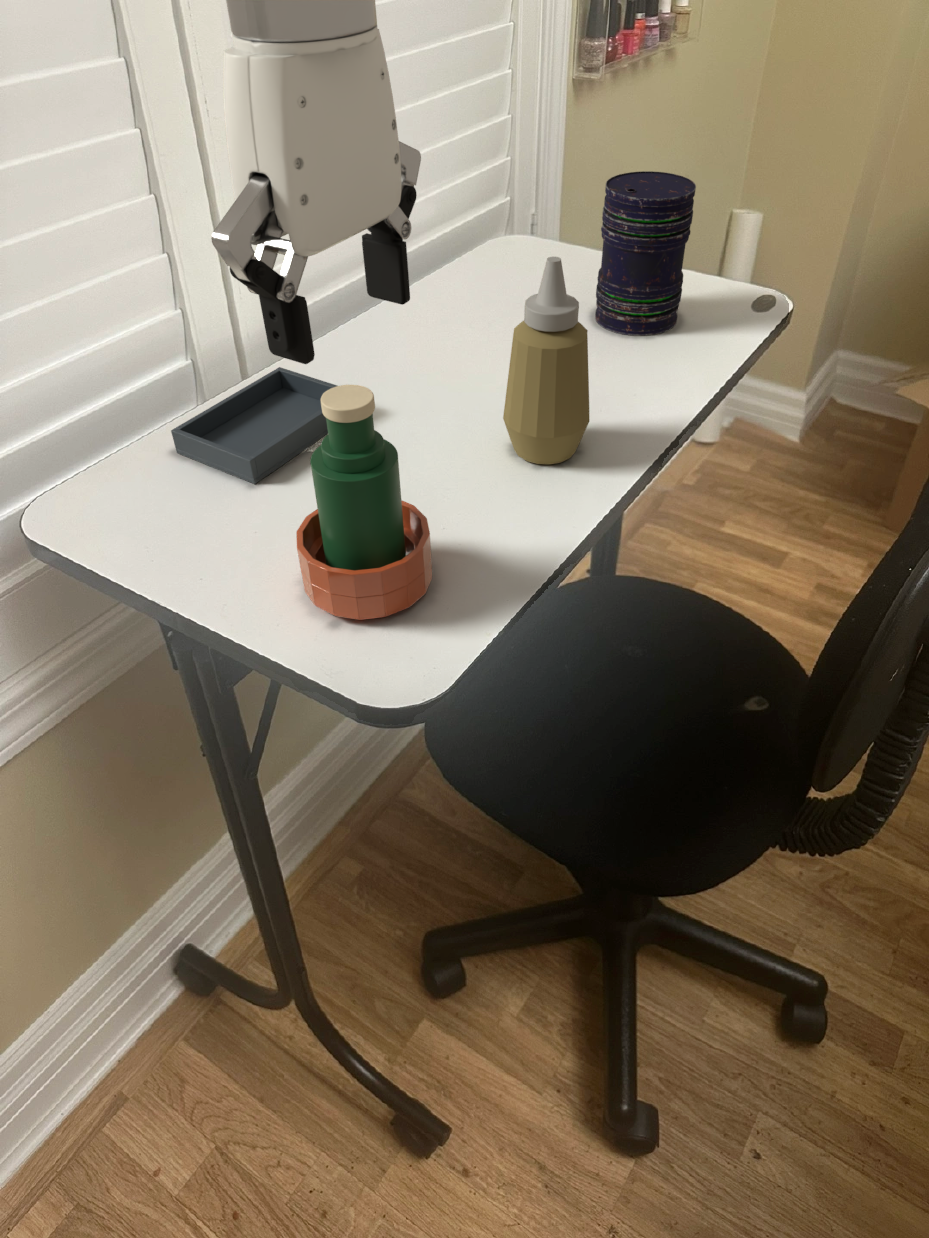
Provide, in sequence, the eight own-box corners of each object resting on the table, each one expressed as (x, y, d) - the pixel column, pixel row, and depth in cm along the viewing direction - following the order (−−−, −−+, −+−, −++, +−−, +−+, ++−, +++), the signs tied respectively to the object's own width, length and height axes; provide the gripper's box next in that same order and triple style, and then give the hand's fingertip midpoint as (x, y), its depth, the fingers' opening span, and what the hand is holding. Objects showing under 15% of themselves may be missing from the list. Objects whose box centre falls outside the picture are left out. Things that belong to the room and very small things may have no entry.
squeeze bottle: (492, 465, 84) (493, 273, 72) (514, 423, 90) (518, 238, 78) (577, 478, 82) (593, 282, 70) (594, 434, 88) (611, 246, 76)
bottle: (330, 606, 69) (301, 424, 58) (327, 557, 73) (300, 379, 63) (411, 597, 69) (397, 415, 59) (403, 549, 74) (388, 371, 64)
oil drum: (637, 294, 113) (651, 165, 103) (695, 321, 107) (716, 186, 97) (576, 315, 109) (585, 183, 99) (633, 344, 103) (649, 206, 93)
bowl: (306, 632, 68) (297, 580, 64) (304, 551, 75) (295, 501, 72) (439, 617, 69) (436, 565, 65) (423, 539, 76) (420, 489, 73)
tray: (254, 484, 83) (250, 460, 81) (176, 453, 87) (170, 430, 85) (358, 413, 92) (355, 391, 90) (283, 388, 96) (279, 366, 95)
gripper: (350, -21, 53) (378, 270, 65) (121, 33, 43) (203, 368, 54) (457, -14, 50) (466, 290, 61) (237, 46, 39) (298, 399, 51)
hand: (343, 327), depth 58 cm, fingers open, 9 cm apart
